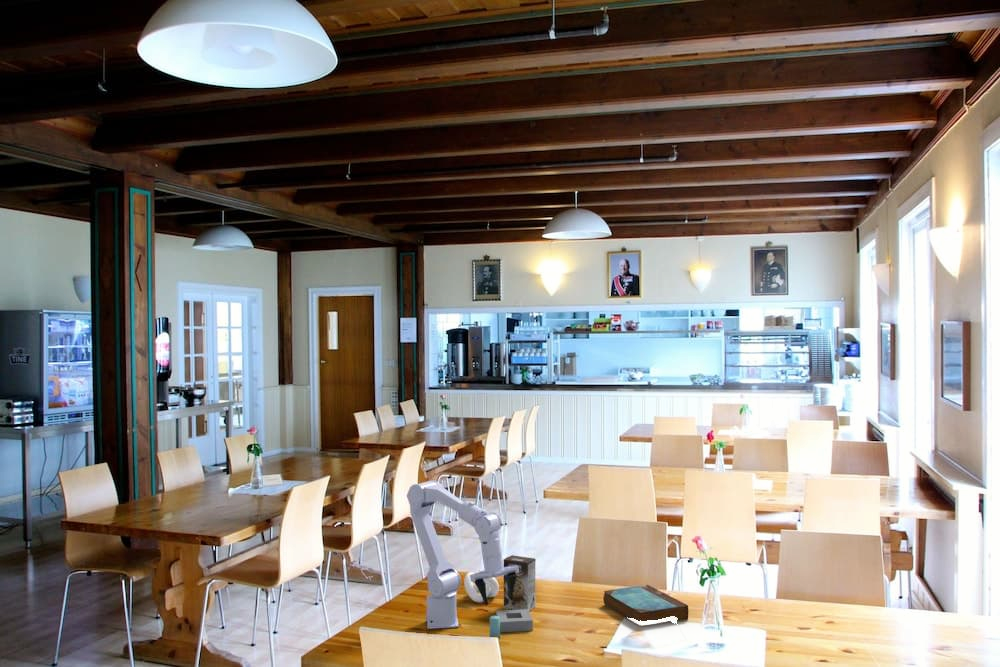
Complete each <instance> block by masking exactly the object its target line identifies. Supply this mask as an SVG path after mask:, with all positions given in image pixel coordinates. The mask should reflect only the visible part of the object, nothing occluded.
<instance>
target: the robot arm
mask: <svg viewBox="0 0 1000 667" xmlns="http://www.w3.org/2000/svg"><path fill="white" fill-rule="evenodd" d="M406 498H407V501H408V504H409V510H410V517H411V519H412V522H413V525H414V527H415V530H416V533H417V535H418V538H419V541H420V545H421V547H422V549H423V552H424V556H425V558H426V560H427V565H428V566H429V569H428V571H427V573H426V576H425V577H426V579H427V589H428V592H429V593H430V595H427V596H426V614H425V621H426V624H427V625H426V626H427V630H428V629H429V630H430V629H431V630H432V629H449V628H459V627H460V626H459V620H458V616H457V612H458V611H457V594H458V589H460V587H461V584H462V579H461V578H462V577H461V576H460V574H459V572H458V571H457V570H456V568H455V566H454V564H453V563H451V562H449V561H448V560H447V558H446V556H445V553H444V550H443V548H442V546H441V543H440V540H439V537H438V534H437V532H436V529H435V526H434V523H433V521H432V518H431V516H430V512H431V510H432V507H433V506H434V504H436V503H437V502H439V503H440V504H442V505H444V506H446V507H448V508H450V509H452V510H453V511H455V512H456V513H457V515H458V518H459V519H461V520H462V521H464V522H465V523H466V524H468V525H470V526H471V527H473V528H474V530H475V533H476V534H477V535H478V540H479V541H480V546H481V547H480V548H481V553H482V554H481V555H482V561H483V569H484V571H482V572H479V571H478V572H473V573H474V574H470V579H471V582H474V583H475V585H476V586H477V588H478V590H479V591H480V592H479V593H480V594H481V596H482V598H483V602H482V603H483V604H484V606H489V602H488V597H487V596H486V583H485V582H484V580H483V579H488V578H493V577H494V578H498V577H501V576H502V577H504V575H505V577H506V582H507V588H508V597H509V599H510V600H513V590H514V585H515V582H516V579H517V575H516V573H519V568H518V566H517V565H515V566H509V567H504V561H503V560H504V559H503V556H502V555H503V554H502V547H501V541H500V539H501V538H500V533H499V530H500V529H501V527H502V521H501V518H500V516H499V515H498V514H497V513H496V512H487V510H486V509H483V508H480V507H479V506H477V505H476V503H475V501H470V500H467V501H465V502H464V501H463V500H461V499H460V498H458V497H457V496H456V495H454V494H453V493H452V492H450V491H449V490H448V489H446V488H444V485H443V484H442V483H439V482H438V481H436V479H435V480H434V479H431V480H429V481H428V480H427V481H424V482H421V483H415V484H412V485H411V486H409V488H408V491H407V494H406Z"/></svg>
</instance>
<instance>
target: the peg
mask: <svg viewBox="0 0 1000 667" xmlns="http://www.w3.org/2000/svg"><path fill="white" fill-rule="evenodd" d="M490 637H498V638H499V640H500V639H501V632H500V617H498V616H496V615H491V616H490V617H489V638H490Z"/></svg>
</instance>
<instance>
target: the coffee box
mask: <svg viewBox="0 0 1000 667" xmlns="http://www.w3.org/2000/svg"><path fill="white" fill-rule="evenodd" d="M502 560H503V567H509V566H515V565H517V566H518V568H519V573H516V575H517V579H516V582H515V585H514V590H513V600H510V599H509V597H508V588H507V582H506V577H505V575H503V609H505V608H506V609H505V610H511V609H512V610H522V609H528V611H529V612H531V611H532V610H534V609H535V608H536V603H537V602H536V562H537V561H536V558H533V557H526V556H520V555H513V554H512V555H509V556H507V557H505V558H504V559H502ZM534 607H535V608H534ZM533 608H534V609H533ZM530 610H531V611H530Z"/></svg>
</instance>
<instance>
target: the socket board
mask: <svg viewBox="0 0 1000 667" xmlns="http://www.w3.org/2000/svg"><path fill="white" fill-rule="evenodd" d="M495 616H498V617H500V633H509V632H510V633H511V632H524V631H525V632H528V631H529V632H530V631H534V630H533V629H534V628H533V627H534V624H533V623H534V620H533V618H532V616H531V613H530V611H528V609H522V610H511V609H504V610H496V611H495Z"/></svg>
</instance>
